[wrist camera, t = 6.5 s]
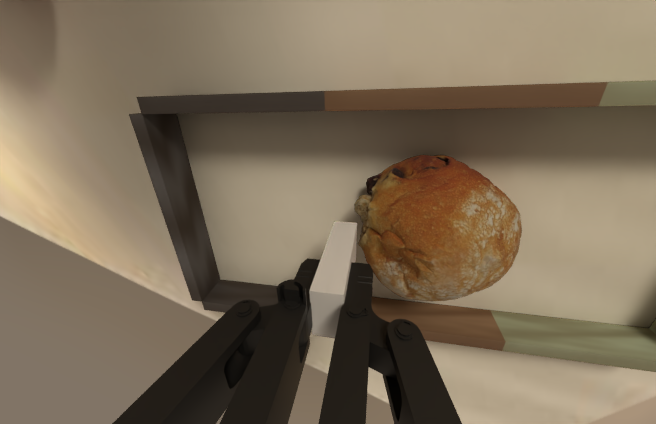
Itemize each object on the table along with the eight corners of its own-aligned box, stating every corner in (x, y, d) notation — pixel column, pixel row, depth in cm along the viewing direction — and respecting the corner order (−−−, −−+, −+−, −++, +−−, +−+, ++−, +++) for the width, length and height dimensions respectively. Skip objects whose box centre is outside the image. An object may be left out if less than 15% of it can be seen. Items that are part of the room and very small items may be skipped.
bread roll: (393, 251, 25) (424, 336, 19) (320, 200, 19) (334, 299, 14) (494, 193, 21) (571, 280, 15) (440, 105, 15) (532, 192, 9)
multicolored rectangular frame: (159, 96, 19) (123, 97, 16) (860, 74, 12) (997, 69, 9) (213, 286, 27) (194, 308, 24) (658, 339, 20) (700, 378, 17)
